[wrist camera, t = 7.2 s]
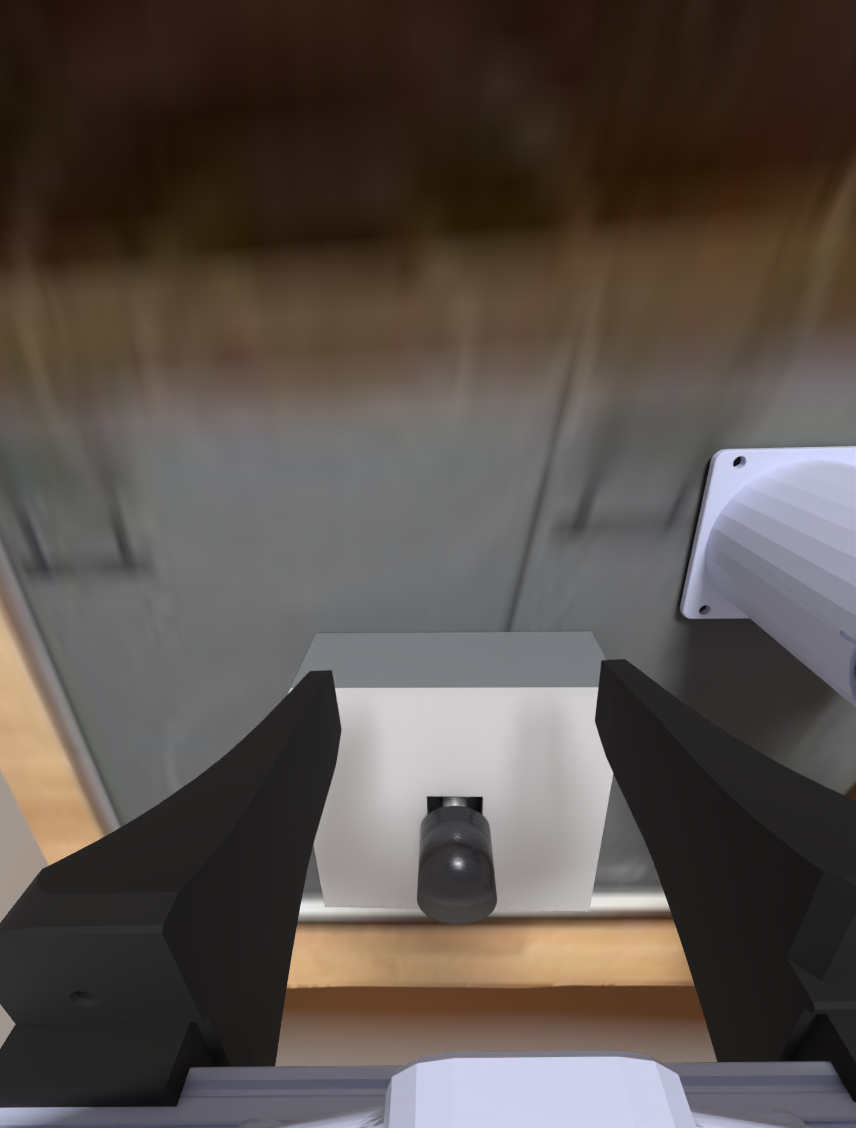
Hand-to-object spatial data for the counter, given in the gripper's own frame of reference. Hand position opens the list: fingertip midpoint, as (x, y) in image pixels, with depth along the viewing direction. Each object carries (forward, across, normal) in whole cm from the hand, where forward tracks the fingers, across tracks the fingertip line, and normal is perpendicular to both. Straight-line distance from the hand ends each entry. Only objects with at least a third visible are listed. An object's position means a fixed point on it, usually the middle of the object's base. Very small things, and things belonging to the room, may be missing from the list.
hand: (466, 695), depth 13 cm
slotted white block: (+10, 0, +11) cm, 15 cm away
